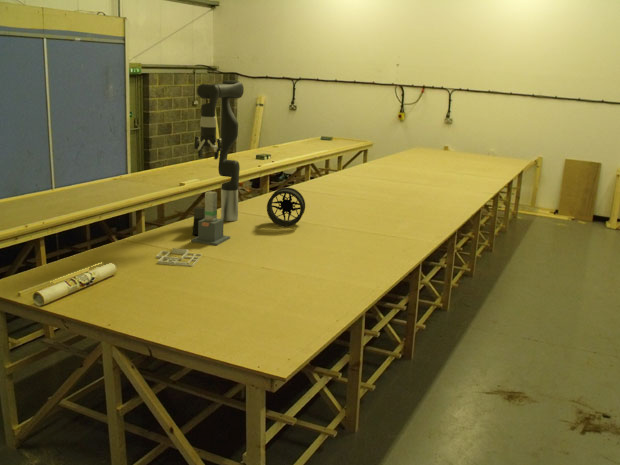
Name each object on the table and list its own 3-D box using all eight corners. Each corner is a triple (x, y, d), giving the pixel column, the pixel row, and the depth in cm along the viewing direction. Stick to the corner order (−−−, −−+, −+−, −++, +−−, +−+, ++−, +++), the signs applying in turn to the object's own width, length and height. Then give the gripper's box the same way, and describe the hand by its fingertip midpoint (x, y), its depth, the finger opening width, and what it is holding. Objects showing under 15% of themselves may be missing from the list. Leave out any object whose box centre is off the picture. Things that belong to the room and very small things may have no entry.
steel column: (209, 222, 303) (209, 191, 298) (216, 224, 301) (217, 192, 297) (204, 224, 299) (204, 192, 294) (212, 226, 297) (212, 193, 293)
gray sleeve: (205, 234, 311) (205, 215, 308) (230, 238, 306) (230, 218, 304) (191, 241, 298) (191, 221, 295) (216, 245, 294) (216, 225, 291)
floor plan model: (151, 250, 284) (151, 246, 283) (204, 254, 281) (204, 250, 281) (136, 263, 266) (136, 258, 265) (192, 267, 263) (192, 263, 263)
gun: (191, 234, 306) (193, 204, 306) (203, 236, 335) (205, 208, 336) (204, 234, 306) (206, 205, 306) (215, 236, 335) (217, 209, 335)
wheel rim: (304, 223, 340) (306, 188, 334) (302, 228, 331) (304, 191, 325) (268, 221, 341) (269, 186, 336) (266, 225, 333) (267, 189, 327)
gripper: (224, 126, 302) (224, 158, 306) (199, 124, 306) (199, 156, 311) (217, 127, 295) (217, 160, 300) (191, 125, 300) (191, 158, 304)
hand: (208, 158), depth 305 cm, fingers open, 8 cm apart
